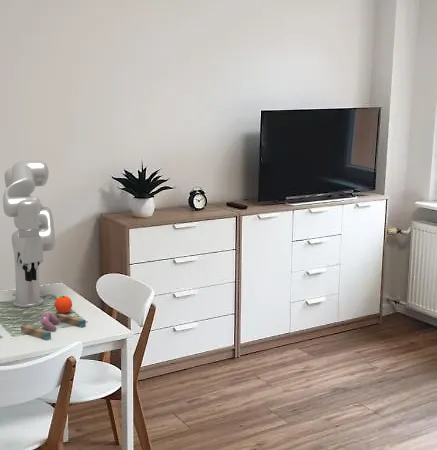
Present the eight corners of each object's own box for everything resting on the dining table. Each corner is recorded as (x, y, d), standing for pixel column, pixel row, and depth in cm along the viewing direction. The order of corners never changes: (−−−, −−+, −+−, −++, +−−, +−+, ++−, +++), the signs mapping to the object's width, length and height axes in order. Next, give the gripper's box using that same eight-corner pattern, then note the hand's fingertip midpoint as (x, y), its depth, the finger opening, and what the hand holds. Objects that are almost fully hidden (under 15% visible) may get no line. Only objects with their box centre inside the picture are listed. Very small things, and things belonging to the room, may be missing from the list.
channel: (21, 332, 253) (20, 325, 253) (60, 319, 268) (60, 313, 268) (46, 340, 245) (46, 333, 245) (85, 326, 261) (85, 320, 260)
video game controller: (50, 327, 264) (41, 312, 262) (60, 322, 264) (51, 306, 262) (46, 336, 254) (36, 320, 253) (57, 330, 254) (47, 314, 253)
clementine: (49, 313, 275) (48, 296, 274) (59, 309, 282) (58, 292, 280) (66, 316, 273) (65, 299, 271) (75, 311, 279) (75, 294, 278)
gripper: (38, 228, 266) (40, 274, 269) (5, 234, 253) (7, 283, 256) (51, 231, 261) (53, 277, 265) (18, 237, 249) (20, 286, 252)
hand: (30, 280), depth 261 cm, fingers closed
